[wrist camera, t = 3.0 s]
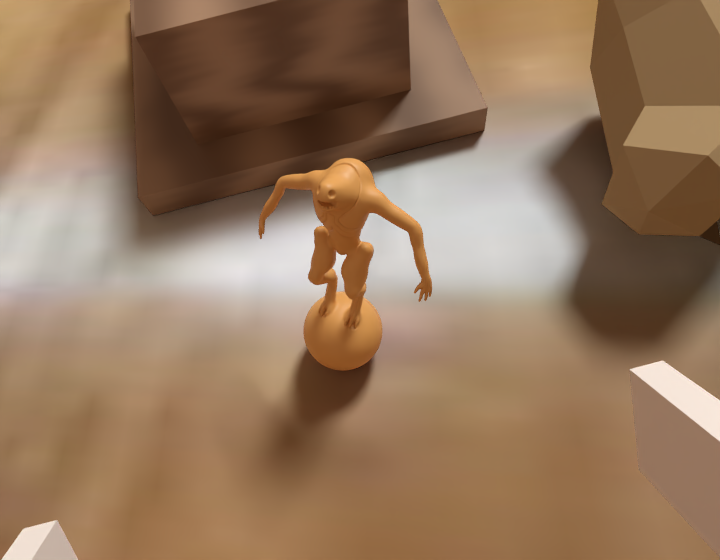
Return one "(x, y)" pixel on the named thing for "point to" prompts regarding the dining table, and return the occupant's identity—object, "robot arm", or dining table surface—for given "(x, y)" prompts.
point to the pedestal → (287, 90)
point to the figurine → (346, 260)
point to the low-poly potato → (661, 113)
